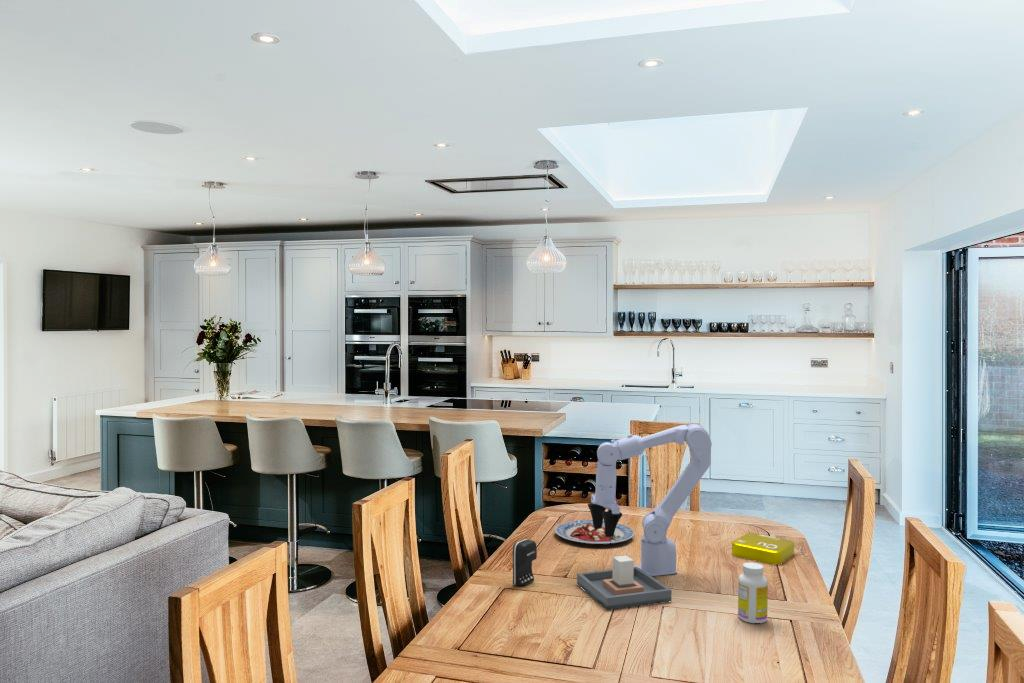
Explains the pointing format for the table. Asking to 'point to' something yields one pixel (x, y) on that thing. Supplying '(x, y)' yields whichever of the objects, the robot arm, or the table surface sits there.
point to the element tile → (763, 548)
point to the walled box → (623, 589)
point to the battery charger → (523, 561)
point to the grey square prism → (623, 571)
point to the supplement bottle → (752, 594)
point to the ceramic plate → (592, 532)
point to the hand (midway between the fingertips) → (603, 532)
